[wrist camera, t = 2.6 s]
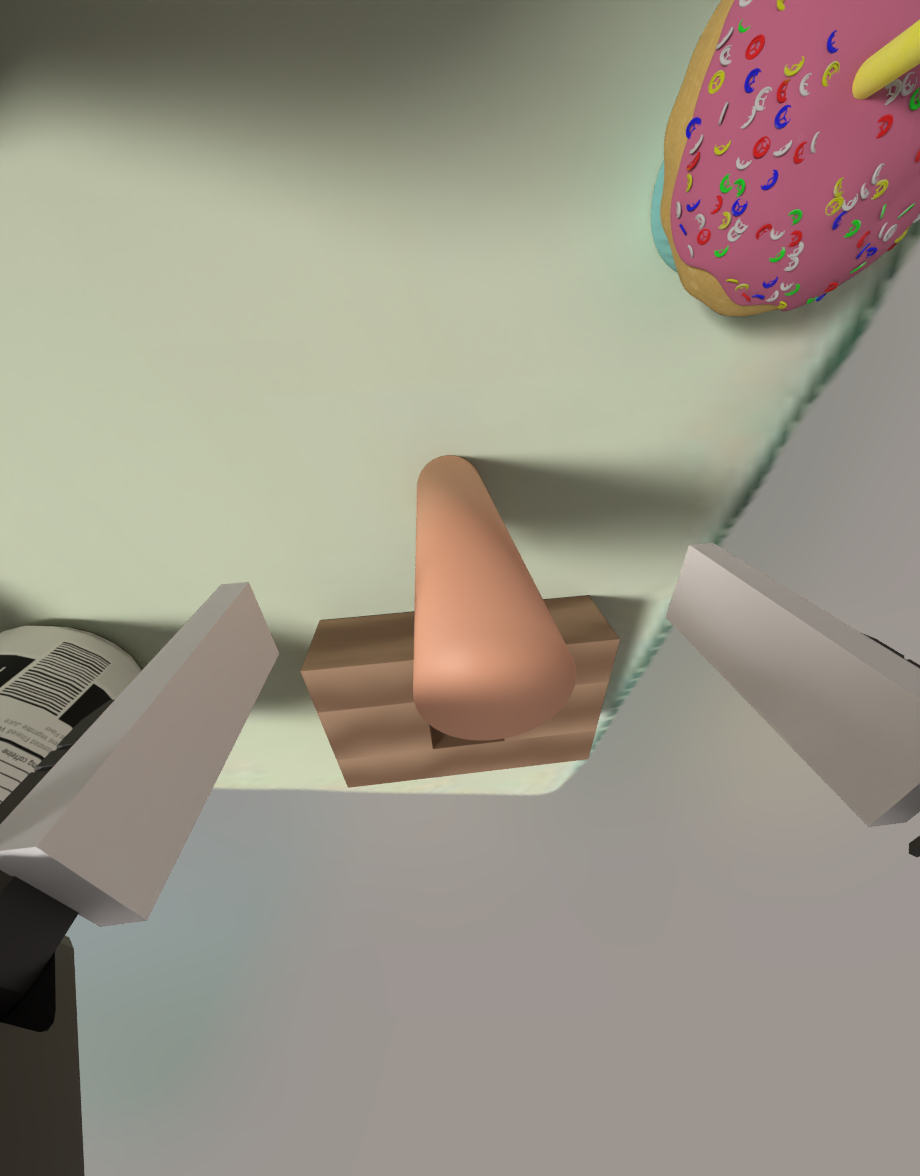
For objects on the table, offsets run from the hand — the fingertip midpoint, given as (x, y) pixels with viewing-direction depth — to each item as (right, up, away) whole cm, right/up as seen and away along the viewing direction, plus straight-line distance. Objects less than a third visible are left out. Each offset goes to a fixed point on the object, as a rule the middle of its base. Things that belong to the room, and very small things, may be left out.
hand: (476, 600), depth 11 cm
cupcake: (+9, +16, +3) cm, 19 cm away
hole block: (0, -6, +16) cm, 17 cm away
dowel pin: (-1, +6, +8) cm, 10 cm away
